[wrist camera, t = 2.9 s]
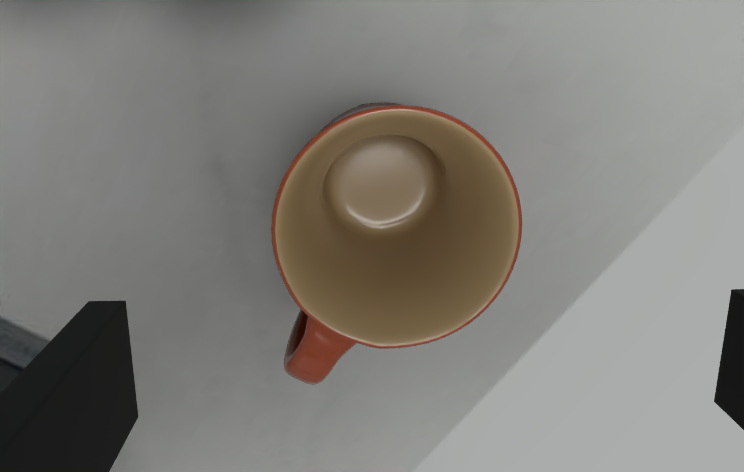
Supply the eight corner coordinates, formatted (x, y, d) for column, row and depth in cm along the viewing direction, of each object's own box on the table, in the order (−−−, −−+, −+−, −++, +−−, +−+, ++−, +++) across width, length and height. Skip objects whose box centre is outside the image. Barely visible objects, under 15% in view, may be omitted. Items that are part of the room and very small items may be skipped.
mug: (346, 49, 32) (351, 54, 22) (501, 143, 33) (571, 187, 23) (228, 262, 34) (185, 352, 24) (377, 339, 36) (393, 454, 26)
